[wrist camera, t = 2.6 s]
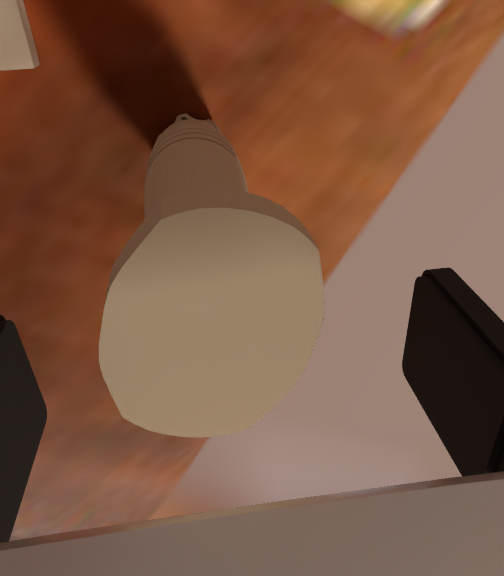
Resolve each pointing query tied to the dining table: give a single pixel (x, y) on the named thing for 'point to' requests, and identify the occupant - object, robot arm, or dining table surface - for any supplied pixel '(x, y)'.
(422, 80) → the dining table surface
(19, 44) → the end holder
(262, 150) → the dining table surface
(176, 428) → the handle
